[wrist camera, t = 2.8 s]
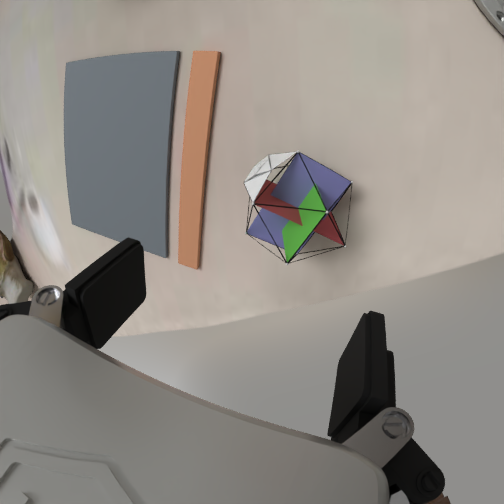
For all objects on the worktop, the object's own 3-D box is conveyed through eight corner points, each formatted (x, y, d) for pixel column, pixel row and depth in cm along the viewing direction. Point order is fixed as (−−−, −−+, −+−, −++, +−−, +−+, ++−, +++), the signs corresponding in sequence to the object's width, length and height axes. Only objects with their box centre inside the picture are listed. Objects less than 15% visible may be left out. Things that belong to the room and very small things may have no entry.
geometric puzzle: (392, 210, 18) (326, 197, 13) (333, 277, 22) (254, 292, 17) (327, 148, 21) (249, 121, 16) (283, 213, 25) (203, 209, 20)
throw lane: (220, 52, 18) (217, 51, 18) (199, 266, 28) (196, 269, 28) (69, 62, 21) (65, 62, 21) (74, 222, 31) (71, 224, 31)
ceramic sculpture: (5, 326, 41) (-31, 260, 37) (33, 303, 48) (0, 242, 45) (12, 316, 35) (-28, 238, 32) (46, 290, 43) (8, 219, 39)
